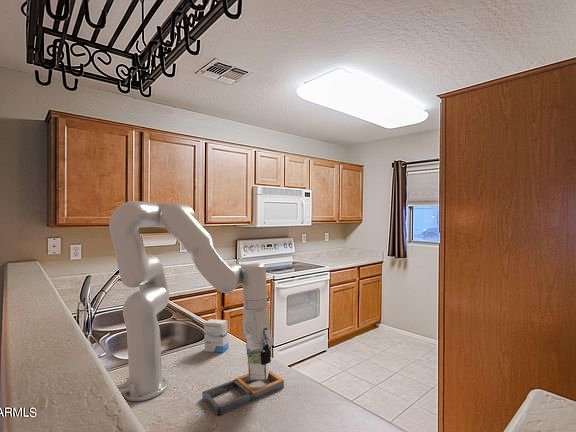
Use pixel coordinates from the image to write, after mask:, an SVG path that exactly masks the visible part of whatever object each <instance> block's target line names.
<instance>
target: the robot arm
mask: <svg viewBox="0 0 576 432" xmlns="http://www.w3.org/2000/svg"><path fill="white" fill-rule="evenodd" d="M196 217H197V216H196V213H195V211H194V209H193V208H192V207H191V206H189V205H187V204H182V203H171V204H170V203H161V202H160V203H159V202H158V203H157V202H152V201H151V202H150V201H142V200H141V201H140V200H132V201H127V202H125V203H122V204H121V205H119V206H118V207H116V209H114V211H113V212H112V213H111V216H110V218H109V223H108V227H109V234H110V238H111V241H112V244H113V245H112V246H113V248H114V254H115V255H114V256H115V259H116V265H117V268H118V273H119V277H120V280H121V283H122V285H124V286H126V287H127V288H130V289H131V288H139V290H137V291H135V292H134V293H132V294H131V295H129V296H128V297H127V298H126V300H125V301H124V304H123V307H122V316H123V320H124V324H125V329H126V343H127V345H126V346H127V359H128V360H127V361H128V377H126V381H124V382H123V383H121V384H117V385H115V386H117V388H118V389H119V391H120V392H121V394H123V397H124V398H125V399H126V400H127V401H129V402H141V401H146V400H151V399H153V398H156V397H158V396H159V395H161V394H163V393H164V392H165V391H166V390H167V389H168V385H169V384H168V380H167V378H165V377H163V367H162V365H163V363H162V346H161V345H162V344H161V343H162V342H161V331H160V326H159V325H160V324H159V322H158V318H157V315H158V314H159V313H160V312H162V311H163V310H164V309H165V308H166V307H167V305H168V303H169V302H170V293H169V292H170V291H169V288H168V283H167V279H166V275H165V273H166V272H165V269H164V266H163V264H162V262H161V260H160V259H159V258H158V257H157V256H155V255H153V254H151V253H149V254H147V253H146V248H145V243H144V240H143V237H142V236H141V234H140V233H139V229H141V228H142V229H143V228H144V229H146V228H160V229H161V228H162V229H166V230H167V231H168V232H169V234H171V235H172V237H173V238H175V239H176V241H177V242H178V243H179V244H180V245H181V246H182V247H183V248H184V249H185V250H186V251H187V253H188V254H189V255H190V258H191V260H192V261H193V264H194V265H195V267H196V268H197V271H198V272H199V273H200V274H201V276H203V278H204V279H205V280H206V281H207V282H208V283H209V284H210V286H212V287H213V288H214V289H215V290H216V291H218V292H220V293H222V294H224V293H225V294H227V293H231V292H233V291H235V289H237V288H238V287H239V286H242V296H243V298H242V299H243V310H242V336H243V337H244V339H245V345H246V346H245V347H246V348H247V333H250V334H251V337H252V342H253V343H255V344H260V347H261V350H262V351H261V352H260V354H261V365H265V364H268V363H269V364H270V363H271V362H272V358H271V350H272V347H273V344H274V339H273V337H272V335H271V323H270V315H269V310H268V306H269V305H268V288H267V284H268V283H267V270H266V266H265V265H264V264H263V263H257V262H255V263H248V264H242V263H241V264H240V263H228V264H227V263H226V261H224V260H223V259H222V257H220V255H219V254H218V252H217V251H216V249H215V248H214V245H213V239H212V236H211V234H210V233H209V232H208V231H207V230H206V229H205V228H204V227H203V226H202V224H200V222H198V221H197V219H196ZM263 336H265V340H263V341H262V339H263ZM264 342H266V345H265V346H264V345H263V343H264ZM246 356H248V352H247V351H246ZM121 394H120V395H121Z"/></svg>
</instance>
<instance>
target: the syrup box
mask: <svg viewBox="0 0 576 432" xmlns="http://www.w3.org/2000/svg"><path fill="white" fill-rule="evenodd" d="M263 340H265V336H263V339H262V341H263ZM263 345H264V346H265V345H266V342H264V343H263ZM261 351H262V350H261V347H260V344H255V343H253V342H252V337H251V334H250V333H247V347H246V353H247V352H248V355H247V369H248V373H249V380H253V381H267V380H268V379H267V378H268V374H269V370H270V363H268V364H265V365H261V354H260V352H261Z"/></svg>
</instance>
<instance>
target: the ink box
mask: <svg viewBox="0 0 576 432" xmlns="http://www.w3.org/2000/svg"><path fill="white" fill-rule="evenodd" d="M228 333H229V331H228V320H227V319H225V320H224V319H213V318H212V319H211V318H209V319H208V320H206V321H204V322H203V337H204V352H209V353H211V352H212V353H221V354H224V353H225V352H226V351H228V349H229V348H230V347H229V334H228Z"/></svg>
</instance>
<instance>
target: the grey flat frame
mask: <svg viewBox="0 0 576 432" xmlns="http://www.w3.org/2000/svg"><path fill="white" fill-rule="evenodd" d="M267 380H268V381H270V383H268V384H265V385H263V386H261V387H257V388H256V389H253V387H251V386H250V385H248V383H251V382H253V381H254V380H249V372H248V373H246V374H244V375H240V376H237V377H235V379H233V380H230V381H228V382H224V383H222V384H219V385H217V386H214V387H211V388H208V389H206V390H204V391H202V392H201V395H202V400H203V401H204V402H205V403H206V404H207V406H208V407H209V408H210V409H211V410H212V412H214V414H215V415H216V416H217V417H219V416H222V415H224V414H226V413H228V411H229V412H231V411H233V410H236V409H238V408H240V407H242V406H244V404H245V405H247V404H249V403H251V402H254V401H256V400H258V399H260V398H263V397H265V396H267V395H269V394H272V393H273V392H274V393H275V392H276V391H278V390H279V391H280V390H281V389H284V388H285V381H284V380H285V379H283V378H282V377H280V376H278V374H276V373H274V372H273V371H271V370H270V369H269V374H268V378H267ZM233 389H235V390H236V391H237V392H238V393H240V395H242V396H240V397H237V398H234V399H232V400H229V401H227V402H225V403H222V404H220V405H219V403H217V402H216V400H214V398H213V397H215V396H218V395H220V394H223V393H225V392H228V391H230V390H233ZM262 396H263V397H262ZM257 398H258V399H257ZM255 399H256V400H255ZM253 400H254V401H253ZM250 401H251V402H250ZM248 402H249V403H248ZM246 403H247V404H246ZM237 407H238V408H237ZM232 409H233V410H232ZM230 410H231V411H230Z"/></svg>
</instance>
